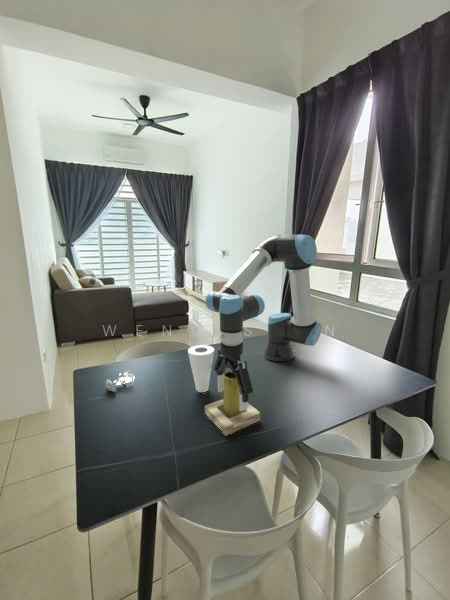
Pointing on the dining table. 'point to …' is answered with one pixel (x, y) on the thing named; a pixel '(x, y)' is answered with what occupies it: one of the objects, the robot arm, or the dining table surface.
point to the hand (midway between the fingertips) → (232, 399)
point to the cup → (201, 365)
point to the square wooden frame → (231, 423)
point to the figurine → (121, 380)
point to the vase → (231, 395)
